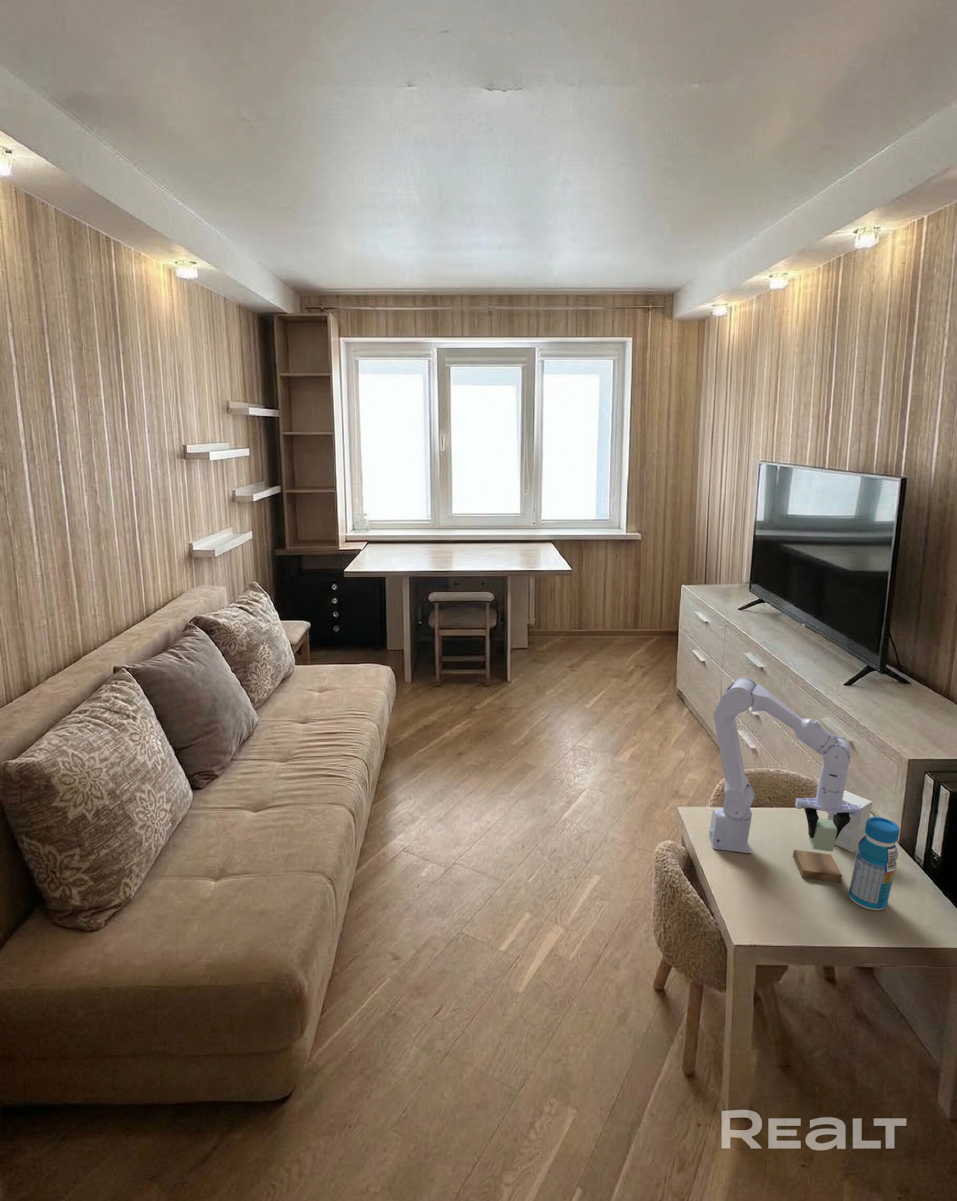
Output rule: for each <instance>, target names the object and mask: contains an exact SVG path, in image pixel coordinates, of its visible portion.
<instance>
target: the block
mask: <svg viewBox="0 0 957 1201" xmlns="http://www.w3.org/2000/svg"><path fill="white" fill-rule="evenodd" d="M836 834H837V828H836V826H835V824H834V822H833V820H828V818H827V819H826V818H820V817H819V819H818V821H817V824H816V828H815V834H814V838H810V836H809V835H808V840H809V843H810V844H811V847H812V849H813V850H818V851H825V852H832V853H833V852H834V848H835V839H836Z"/></svg>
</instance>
